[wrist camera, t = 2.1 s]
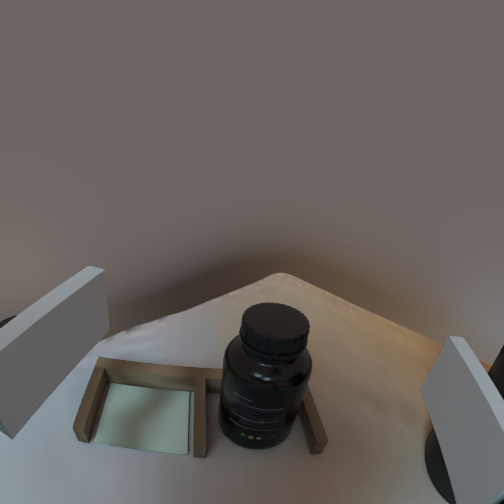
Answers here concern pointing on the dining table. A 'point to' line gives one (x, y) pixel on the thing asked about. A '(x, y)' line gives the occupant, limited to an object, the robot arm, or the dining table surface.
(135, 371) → the notch rail
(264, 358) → the supplement bottle
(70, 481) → the dining table surface
